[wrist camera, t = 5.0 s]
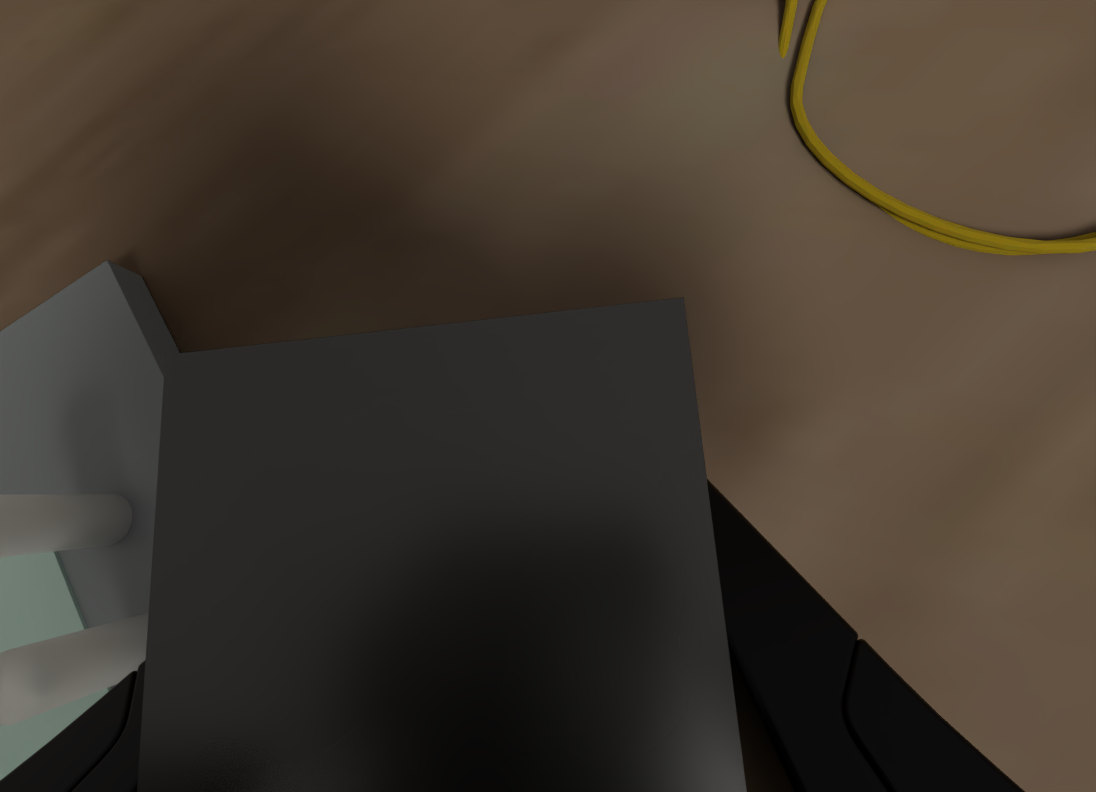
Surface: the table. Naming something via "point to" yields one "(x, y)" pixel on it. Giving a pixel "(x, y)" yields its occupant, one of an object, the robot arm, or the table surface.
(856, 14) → the table surface
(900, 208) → the extension cord
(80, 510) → the dock
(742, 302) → the table surface
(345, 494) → the block
